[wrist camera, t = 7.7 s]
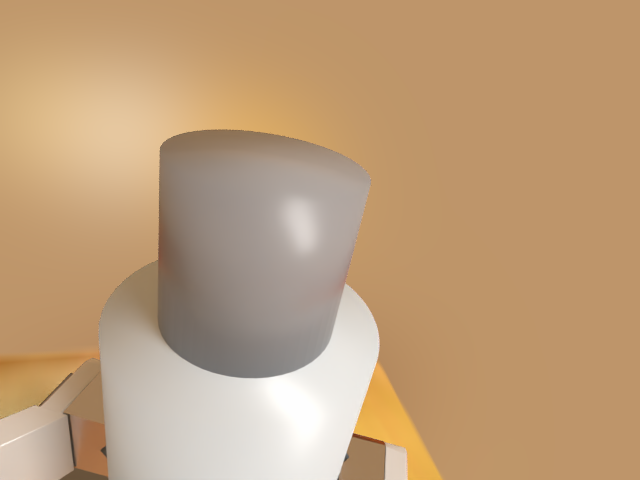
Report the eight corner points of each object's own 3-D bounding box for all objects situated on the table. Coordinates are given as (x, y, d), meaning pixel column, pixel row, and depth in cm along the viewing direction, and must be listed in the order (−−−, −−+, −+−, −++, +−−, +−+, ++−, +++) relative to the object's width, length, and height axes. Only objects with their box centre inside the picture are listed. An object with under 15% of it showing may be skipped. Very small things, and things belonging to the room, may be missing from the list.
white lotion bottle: (78, 684, 11) (-20, 165, 4) (172, 496, 15) (190, 103, 9) (264, 749, 10) (443, 282, 4) (305, 536, 15) (421, 157, 9)
